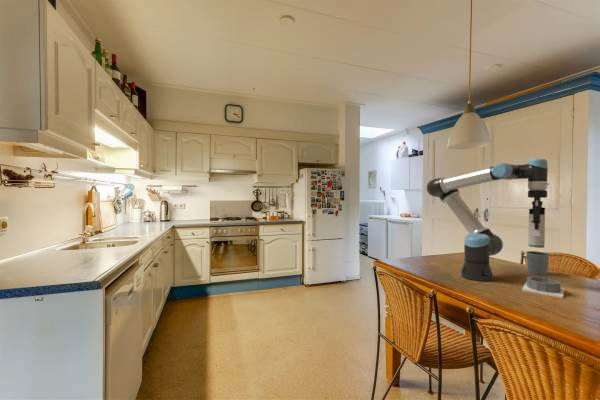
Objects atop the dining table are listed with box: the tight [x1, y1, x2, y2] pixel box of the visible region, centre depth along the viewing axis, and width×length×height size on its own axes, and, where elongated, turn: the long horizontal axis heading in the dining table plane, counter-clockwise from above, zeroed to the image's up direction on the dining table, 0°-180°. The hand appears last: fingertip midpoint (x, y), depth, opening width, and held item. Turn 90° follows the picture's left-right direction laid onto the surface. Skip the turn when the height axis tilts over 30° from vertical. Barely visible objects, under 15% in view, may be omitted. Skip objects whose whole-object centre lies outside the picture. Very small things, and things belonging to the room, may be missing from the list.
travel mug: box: [528, 207, 546, 249], centre depth 143 cm, size 6×7×20 cm
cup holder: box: [521, 275, 565, 299], centre depth 132 cm, size 14×14×5 cm
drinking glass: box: [525, 250, 550, 276], centre depth 162 cm, size 10×10×12 cm
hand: (536, 235), depth 143 cm, fingers closed on travel mug, 6 cm apart
